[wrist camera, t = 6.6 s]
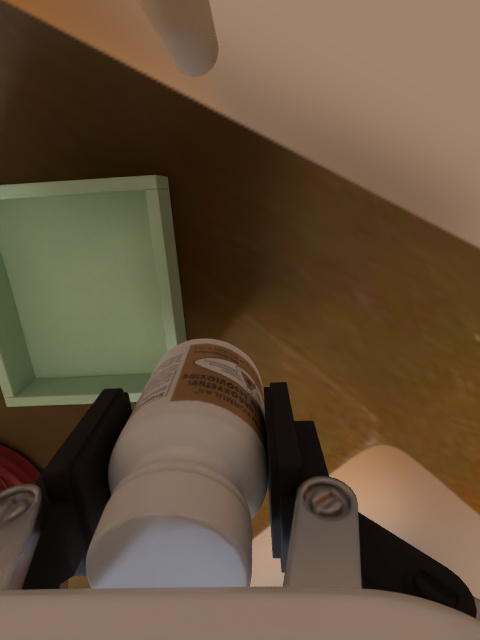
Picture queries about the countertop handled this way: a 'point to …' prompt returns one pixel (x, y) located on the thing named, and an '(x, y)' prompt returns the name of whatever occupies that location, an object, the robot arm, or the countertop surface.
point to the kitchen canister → (15, 469)
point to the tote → (86, 288)
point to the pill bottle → (186, 476)
